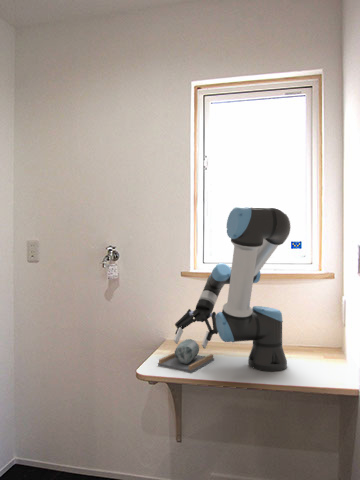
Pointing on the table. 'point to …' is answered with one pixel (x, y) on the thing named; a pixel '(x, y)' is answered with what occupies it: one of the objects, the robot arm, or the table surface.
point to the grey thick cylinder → (186, 351)
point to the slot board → (191, 367)
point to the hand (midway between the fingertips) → (189, 344)
